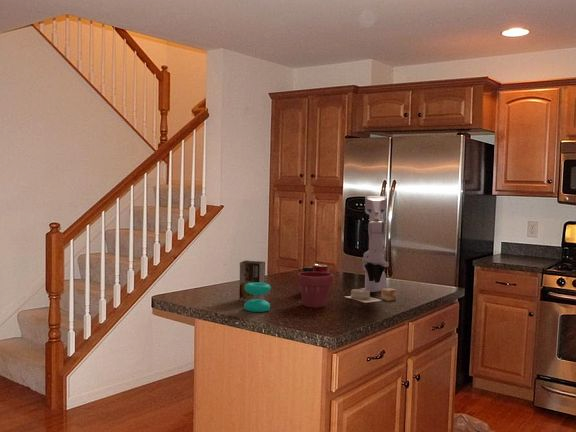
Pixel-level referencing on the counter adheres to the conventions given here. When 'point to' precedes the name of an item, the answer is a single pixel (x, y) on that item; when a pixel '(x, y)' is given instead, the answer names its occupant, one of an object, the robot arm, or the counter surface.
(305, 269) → the supplement bottle
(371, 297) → the letter
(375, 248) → the robot arm
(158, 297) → the counter surface
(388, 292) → the maple block
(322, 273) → the plant pot
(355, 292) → the puck
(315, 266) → the soda can
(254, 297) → the coffee box
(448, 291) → the counter surface
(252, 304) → the donuts
